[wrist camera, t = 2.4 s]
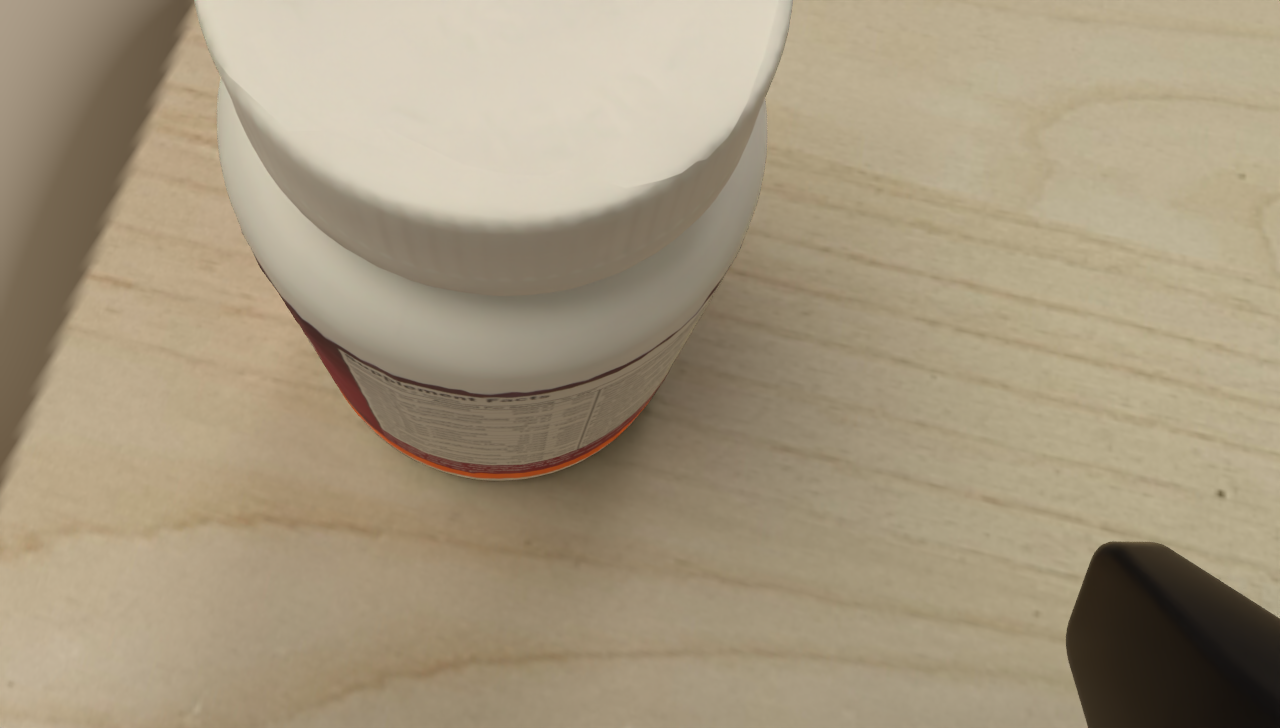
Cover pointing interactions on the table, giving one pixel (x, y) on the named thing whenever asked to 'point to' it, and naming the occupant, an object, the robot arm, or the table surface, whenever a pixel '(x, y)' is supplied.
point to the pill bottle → (495, 201)
